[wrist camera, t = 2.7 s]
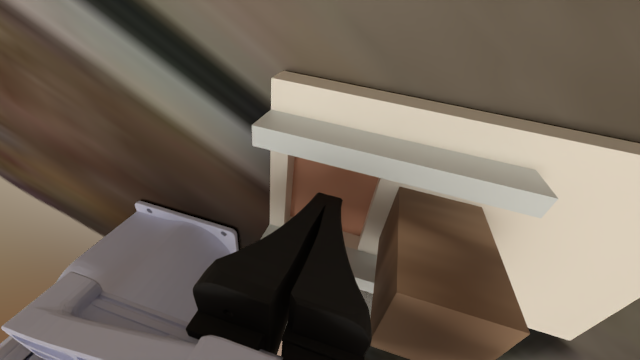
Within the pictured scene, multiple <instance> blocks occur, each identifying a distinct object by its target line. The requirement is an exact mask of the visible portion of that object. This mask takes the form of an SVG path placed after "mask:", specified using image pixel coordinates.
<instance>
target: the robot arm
mask: <svg viewBox="0 0 640 360" xmlns="http://www.w3.org/2000/svg"><path fill="white" fill-rule="evenodd" d="M342 201H343V200H342V199H341V198H339V197H335V196H331V195H327V194H324V193H320V192H319V193H317V194H316V195H315V196H314V197H313V198H312V200H311V201H310V202H309V203H308V204H307V205H306V206H305V207H304V208H303V209H302V210H300V211H299V212H298V213H297V214H296V215H295V216H294V217H292V218H291V219H290V220H289V221H288V222H286V223H285V224H284V225H282V226H281V227H280V228H278V229H277V230H275V231H274V232H272V233H271V234H269V235H267V236H266V237H264V238H262V239H261V240H259V241H257V242H255V243H253V244H251V245H249V246H247V247H245V248H243V249H241V250H239V249H238V239H237V233H236V231H235V230H234V229H232V228H229V227H225V226H222V225H219V224H216V223H212V222H209V221H206V220H202V219H199V218H196V217H192V216H189V215H186V214H183V213H179V212H176V211H173V210H169V209H166V208H163V207H160V206H156V205H153V204H150V203H146V202H143V201H138V202H137V203H135V207H136V210H137V212H136V213H134V214H133V215H132V216H130V217H129V218H128V219H127V220H125V221H124V222H123V223H121V224H120V225H119V226H118V227H116V228H115V229H114V230H113V231H111V232H110V233H109V234H107V235H106V236H105V237H104V238H103V239H101V240H100V241H99V242H97V243H96V244H95V245H93V246H92V247H91V248H90V249H88V250H87V251H86V252H85V253H83V254H82V255H81V256H79V257H78V258H77V259H76V260H75V261H73V262H72V263H71V264H70V265H69V266H68V267H67V268H66V269H65V271H64V272H63V273H62V274H61V276H60V277H59V279H58V280H57V281H56V283H55V284H54V285H52V286H51V287H50V288H49V289H47V290H46V291H45V292H44V293H42V294H41V295H40V296H39V297H38V298H36V299H35V300H34V301H33V302H31V303H30V304H29V305H28V306H26V307H25V308H24V309H23V310H21V311H20V312H19V313H18V314H16V315H15V316H14V317H13V318H12V319H10V320H9V321H8V322H7V323H5V324H4V325H3V326H2V330H3V331H5V332H6V333H7V334H9V335H10V336H9V337H8V338H7V339H5V340H4V341H3V342H2V343H0V360H364V356H365V354H366V352H367V351H368V349H369V347H370V345H371V341H372V330H371V321H370V315H369V309H368V306H367V304H366V302H365V300H364V298H363V296H362V294H361V292H360V290H359V287H358V285H357V283H356V280H355V277H354V274H353V272H352V269H351V266H350V263H349V260H348V256H347V252H346V248H345V243H344V238H343V232H342V222H341V206H342ZM287 321H288V323H287ZM286 324H287V326H286ZM285 327H286V328H285ZM284 330H285V331H284ZM283 333H284V334H283ZM281 340H282V341H283V342H282V355H281V356H278V355H277V352H278V349H279V346H280V343H281Z"/></svg>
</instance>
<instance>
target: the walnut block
mask: <svg viewBox="0 0 640 360" xmlns="http://www.w3.org/2000/svg"><path fill="white" fill-rule="evenodd" d="M370 321H371V330H372V341H371V345H370V346H373V347H376V348H379V349H382V350H385V351H387V352H390V353H393V354H396V355H399V356H402V357H405V358H408V359H411V360H495V359H497V358H498V357H499V356H501V355H502V354H503V353H505V352H506V351H508V350H509V349H510V348H512V347H513V346H514V345H516V344H517V343H518V342H520V341H521V340H522V339H524V338H525V337H527V336H528V335H529V334H530V332H529V330H528V327H527V324H526V322H525V319H524V317H523V314H522V311H521V309H520V306H519V303H518V301H517V298H516V295H515V293H514V290H513V288H512V285H511V282H510V280H509V277H508V274H507V272H506V269H505V267H504V264H503V261H502V259H501V256H500V253H499V251H498V248H497V246H496V243H495V240H494V238H493V235H492V232H491V230H490V227H489V224H488V222H487V219H486V217H485V214H484V211H483V209H482V207H479V206H475V205H471V204H467V203H463V202H459V201H455V200H451V199H447V198H444V197H440V196H436V195H432V194H428V193H424V192H420V191H416V190H412V189H408V188H404V187H400V186H399V189H398V191H397V194H396V196H395V199H394V201H393V204H392V207H391V209H390V212H389V214H388V217H387V219H386V222H385V224H384V227H383V230H382V232H381V235H380V237H379V243H378V253H377V262H376V272H375V281H374V291H373V300H372V310H371V319H370Z"/></svg>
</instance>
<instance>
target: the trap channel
mask: <svg viewBox="0 0 640 360" xmlns="http://www.w3.org/2000/svg"><path fill="white" fill-rule="evenodd" d="M252 146H255V147H259V148H263V149H267V150H271V155H270V224H269V226H268V228H267V229H266V231H265V233H264V234H263V236H262V238H264V237H266V236H267V235H269V234H271V233H272V232H274V231H275V230H277V229H278V228H280V227H281V226H282V225H284V224H285V223H286V222H288V221H289V220H290V219H291V218H292V217H294V216H295V215H296V214H297V213H298V212H299V211H300V210H302V209H303V208H304V207H305V206H306V205H307V204H308V203H309V202H310V201H311V200H312V198H313V197H314V196H315V195H316V194H317V193H319V192H320V193H324V194H327V195H331V196H335V197H339V198H341V199H342V200H343V201H342V206H341V222H342V232H343V238H344V243H345V248H346V252H347V256H348V260H349V263H350V266H351V269H352V272H353V274H354V277H355V280H356V283H357V285H358V287H359V289H360V290H363V291H366V292H370V293H373V291H374V281H375V272H376V262H377V253H378V243H379V237H380V235H381V232H382V230H383V227H384V224H385V222H386V219H387V217H388V214H389V212H390V209H391V207H392V204H393V201H394V199H395V196H396V194H397V191H398V189H399V186H400V187H404V188H408V189H412V190H416V191H420V192H424V193H428V194H432V195H436V196H440V197H444V198H447V199H451V200H455V201H459V202H463V203H467V204H471V205H475V206H479V207H482V209H483V211H484V214H485V217H486V219H487V222H488V224H489V227H490V230H491V232H492V235H493V238H494V240H495V243H496V246H497V248H498V251H499V253H500V256H501V259H502V261H503V264H504V267H505V269H506V272H507V274H508V277H509V280H510V282H511V285H512V288H513V290H514V293H515V295H516V298H517V301H518V303H519V306H520V309H521V311H522V314H523V317H524V319H525V322H526V324H527V327H528V328H531V329H534V330H537V331H540V332H544V333H547V334H550V335H553V336H557V337H560V338H563V339H566V340H572V339H573V338H575V337H577V336H578V335H580V334H581V333H583V332H585V331H586V330H588V329H590V328H591V327H593V326H594V325H596V324H598V323H599V322H601V321H603V320H604V319H606V318H607V317H609V316H611V315H612V314H614V313H615V312H617V311H619V310H620V309H622V308H624V307H625V306H627V305H628V304H630V303H632V302H633V301H635V300H637V299H638V298H640V143H635V142H630V141H625V140H620V139H616V138H611V137H606V136H601V135H596V134H591V133H586V132H581V131H576V130H572V129H567V128H562V127H557V126H552V125H547V124H542V123H537V122H532V121H527V120H523V119H518V118H513V117H508V116H503V115H498V114H493V113H488V112H483V111H479V110H474V109H469V108H464V107H459V106H454V105H449V104H444V103H439V102H435V101H430V100H425V99H420V98H415V97H410V96H405V95H400V94H395V93H391V92H386V91H381V90H376V89H371V88H366V87H361V86H356V85H351V84H346V83H342V82H337V81H332V80H327V79H322V78H317V77H312V76H307V75H302V74H298V73H293V72H288V71H282V72H280V73H279V74H277V75H275V76H273V77H272V78H271V110H270V111H269V112H267V113H266V114H265V115H264V116H262V117H261V118H260V119H259V120H257V121H256V122H255V123H254V124H253V125H252ZM262 238H261V239H262ZM261 239H260V240H261Z"/></svg>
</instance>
